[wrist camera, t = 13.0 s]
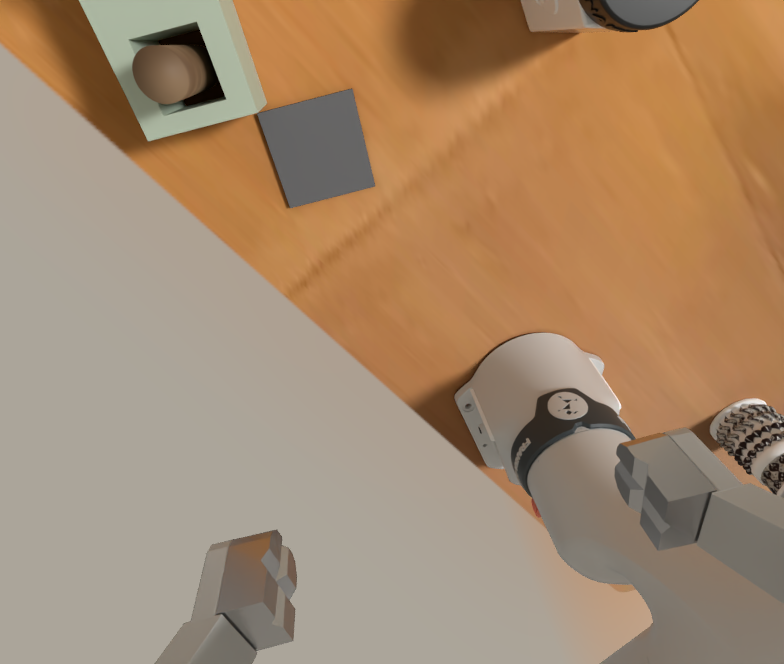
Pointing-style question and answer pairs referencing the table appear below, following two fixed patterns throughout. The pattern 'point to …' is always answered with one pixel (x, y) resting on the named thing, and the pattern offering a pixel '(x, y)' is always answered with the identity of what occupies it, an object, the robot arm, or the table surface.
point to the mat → (318, 148)
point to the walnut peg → (173, 72)
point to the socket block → (167, 19)
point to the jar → (601, 14)
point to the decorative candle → (754, 440)
